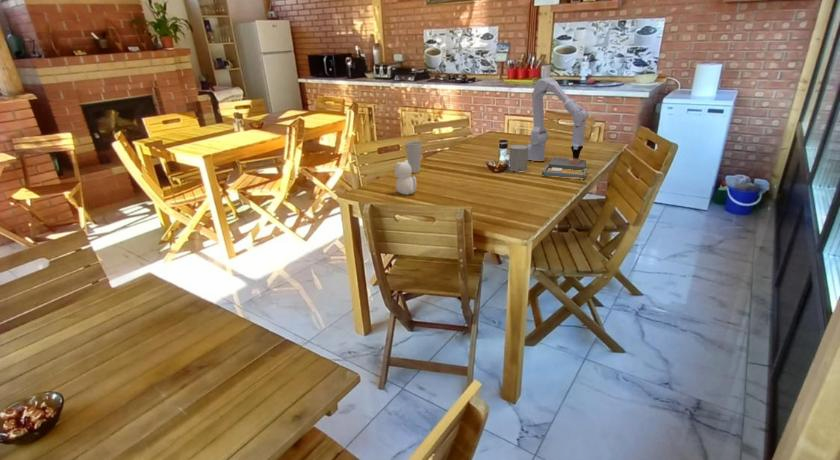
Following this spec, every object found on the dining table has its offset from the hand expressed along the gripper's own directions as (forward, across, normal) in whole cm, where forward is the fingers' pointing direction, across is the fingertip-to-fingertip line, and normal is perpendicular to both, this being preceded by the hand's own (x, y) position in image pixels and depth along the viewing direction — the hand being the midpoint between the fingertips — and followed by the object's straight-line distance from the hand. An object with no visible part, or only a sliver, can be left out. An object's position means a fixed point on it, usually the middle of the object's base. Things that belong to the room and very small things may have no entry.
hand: (575, 160), depth 237 cm
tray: (+4, -16, +3) cm, 17 cm away
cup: (+4, -35, +78) cm, 85 cm away
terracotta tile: (+1, -4, 0) cm, 4 cm away
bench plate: (+4, -3, +4) cm, 6 cm away
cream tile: (+1, -16, +7) cm, 18 cm away
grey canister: (+4, -15, +27) cm, 31 cm away
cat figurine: (+4, -68, +66) cm, 95 cm away
